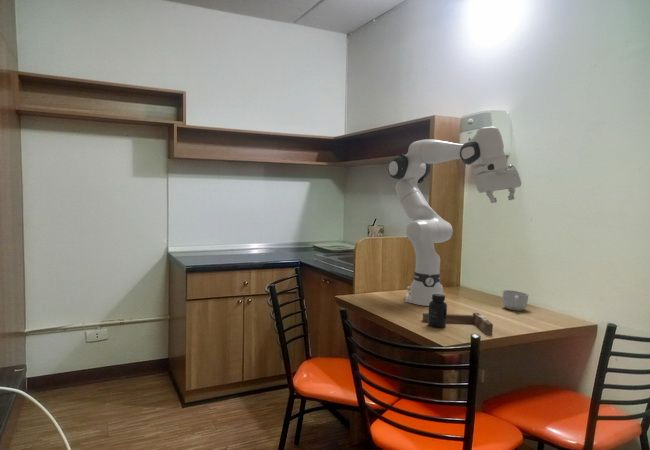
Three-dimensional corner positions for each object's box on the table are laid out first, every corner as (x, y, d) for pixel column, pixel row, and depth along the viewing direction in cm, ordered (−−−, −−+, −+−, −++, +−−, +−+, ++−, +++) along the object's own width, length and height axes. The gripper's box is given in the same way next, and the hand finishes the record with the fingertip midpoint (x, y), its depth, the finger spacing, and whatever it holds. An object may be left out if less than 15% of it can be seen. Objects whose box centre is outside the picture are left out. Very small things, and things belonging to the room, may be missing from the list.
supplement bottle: (449, 328, 173) (451, 296, 172) (433, 328, 171) (435, 297, 170) (439, 322, 179) (441, 292, 178) (424, 323, 177) (426, 293, 176)
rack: (422, 320, 182) (423, 309, 182) (477, 322, 182) (478, 311, 182) (431, 332, 166) (432, 320, 166) (492, 335, 166) (492, 323, 166)
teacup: (503, 305, 216) (505, 288, 215) (528, 308, 210) (529, 291, 210) (498, 311, 204) (500, 293, 203) (525, 315, 198) (526, 296, 198)
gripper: (508, 166, 186) (515, 199, 185) (470, 171, 177) (477, 205, 176) (521, 162, 180) (528, 196, 179) (482, 167, 171) (489, 203, 170)
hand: (502, 201), depth 177 cm, fingers open, 8 cm apart
